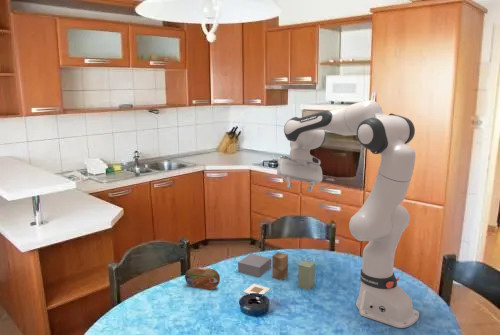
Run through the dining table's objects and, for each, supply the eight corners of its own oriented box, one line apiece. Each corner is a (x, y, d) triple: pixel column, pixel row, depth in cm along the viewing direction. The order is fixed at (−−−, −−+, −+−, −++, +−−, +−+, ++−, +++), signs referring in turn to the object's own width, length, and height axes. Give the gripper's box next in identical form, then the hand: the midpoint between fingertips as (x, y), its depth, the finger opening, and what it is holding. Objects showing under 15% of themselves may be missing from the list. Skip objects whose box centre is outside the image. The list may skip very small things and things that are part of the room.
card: (270, 289, 172) (270, 288, 172) (260, 297, 165) (260, 296, 165) (253, 284, 176) (253, 283, 176) (243, 292, 170) (243, 291, 169)
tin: (185, 286, 175) (184, 267, 174) (188, 283, 178) (187, 264, 177) (218, 291, 171) (217, 272, 169) (221, 287, 174) (220, 268, 172)
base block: (271, 268, 192) (271, 258, 191) (259, 278, 182) (259, 267, 181) (250, 263, 197) (250, 253, 196) (238, 272, 188) (237, 262, 187)
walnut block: (287, 275, 184) (287, 254, 181) (282, 280, 179) (282, 258, 177) (277, 273, 186) (277, 252, 184) (272, 277, 182) (272, 256, 180)
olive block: (314, 285, 175) (314, 263, 173) (309, 290, 171) (309, 267, 169) (303, 282, 177) (303, 260, 175) (298, 287, 173) (298, 264, 171)
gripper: (280, 152, 175) (280, 182, 170) (323, 161, 181) (324, 191, 176) (275, 158, 181) (274, 187, 175) (317, 166, 187) (317, 195, 181)
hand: (299, 189), depth 176 cm, fingers open, 8 cm apart
